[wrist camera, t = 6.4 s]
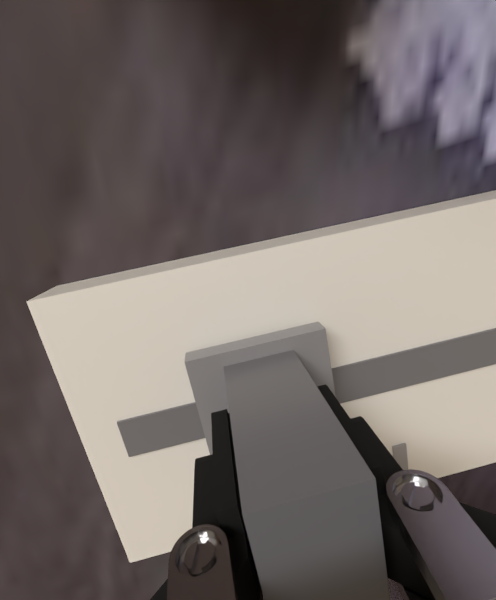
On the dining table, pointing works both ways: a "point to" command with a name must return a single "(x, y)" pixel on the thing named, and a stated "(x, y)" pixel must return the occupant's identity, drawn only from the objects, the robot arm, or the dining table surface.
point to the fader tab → (294, 466)
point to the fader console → (274, 317)
